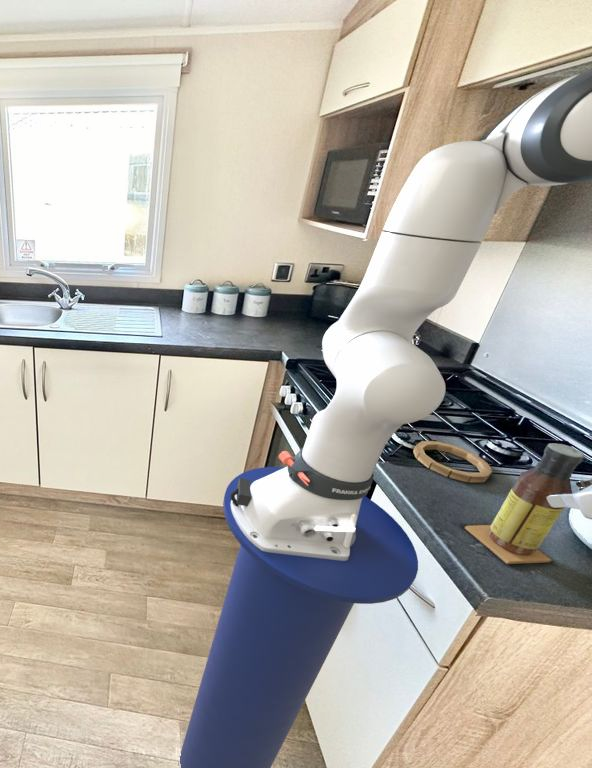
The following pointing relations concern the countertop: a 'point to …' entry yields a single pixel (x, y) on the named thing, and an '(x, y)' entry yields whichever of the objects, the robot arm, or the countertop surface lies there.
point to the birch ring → (446, 471)
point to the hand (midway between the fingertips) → (565, 493)
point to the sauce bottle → (535, 501)
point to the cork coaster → (507, 556)
